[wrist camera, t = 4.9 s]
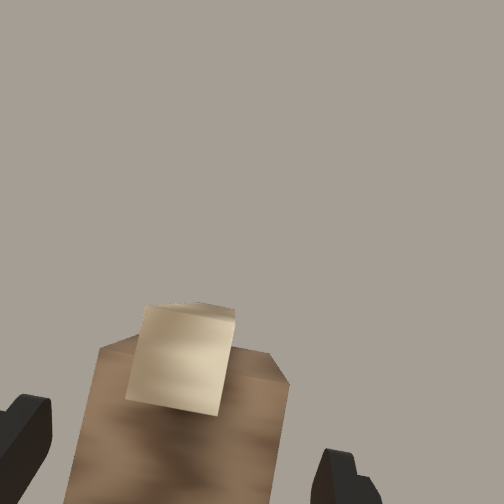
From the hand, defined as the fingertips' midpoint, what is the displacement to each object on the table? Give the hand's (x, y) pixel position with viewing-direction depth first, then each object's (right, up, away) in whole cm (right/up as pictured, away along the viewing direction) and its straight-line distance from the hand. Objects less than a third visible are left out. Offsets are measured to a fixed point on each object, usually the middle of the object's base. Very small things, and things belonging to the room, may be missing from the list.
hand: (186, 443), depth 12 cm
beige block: (-1, -1, +11) cm, 11 cm away
